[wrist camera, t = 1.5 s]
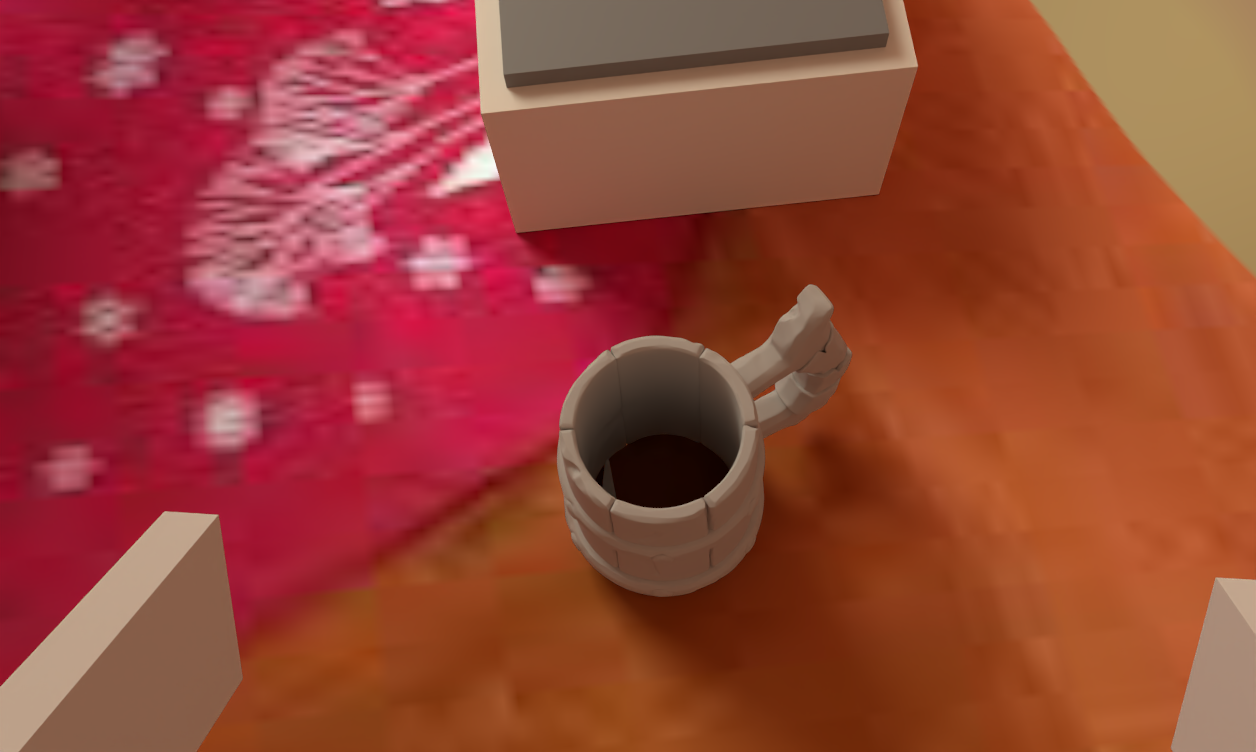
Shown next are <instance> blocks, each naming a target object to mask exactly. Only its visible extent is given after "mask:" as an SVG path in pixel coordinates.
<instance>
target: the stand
mask: <svg viewBox="0 0 1256 752" xmlns="http://www.w3.org/2000/svg"><path fill="white" fill-rule="evenodd" d="M475 9H476V28H477V47H478V66H479V85H480V104H481V115H482V119H483V122H484V126H485V129H486V132H487V136H488V139H489V143H490V146H491V149H492V153H493V156H494V160H495V163H496V166H497V170H498V173H499V176H500V180H501V183H502V187H503V190H504V193H505V197H506V200H507V204H508V207H509V210H510V214H511V217H512V221H513V224H514V227H515V231H516V233H520V232H530V231H539V230H548V229H558V228H567V227H576V226H586V225H595V224H605V223H614V222H623V221H633V220H642V219H652V218H661V217H670V216H680V215H689V214H698V213H708V212H717V211H727V210H736V209H745V208H755V207H764V206H774V205H783V204H792V203H802V202H811V201H821V200H830V199H839V198H849V197H858V196H867V195H877V194H879V192H880V189H881V186H882V183H883V179H884V176H885V173H886V170H887V166H888V163H889V160H890V157H891V153H892V150H893V147H894V143H895V140H896V137H897V134H898V130H899V127H900V124H901V121H902V117H903V114H904V111H905V108H906V104H907V101H908V98H909V95H910V91H911V88H912V85H913V82H914V78H915V75H916V72H917V68H918V64H917V60H916V55H915V51H914V46H913V42H912V38H911V33H910V29H909V24H908V20H907V16H906V11H905V7H904V2H903V0H475Z"/></svg>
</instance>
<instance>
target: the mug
mask: <svg viewBox="0 0 1256 752" xmlns="http://www.w3.org/2000/svg"><path fill="white" fill-rule="evenodd" d="M797 302H798V303H797V304H796V305H795V306H793V307H792V308H791V310H790V311H789V312H787V313H786V314H784V315H783V316H782V317H781V318H780V319H779V321H778V323H777V324H776V326H775V329H774V331H773V333H772V334H771V336H770V337H769V338H768V340H767V341H766V342H765V343H764V344H763V345H761V346H760V347H759V348H757V349H755V350H753V351H752V352H750V353H748V354H746V355H745V356H743V357H740V358H738V359H737V360H735V361H734V362H732V363H731V364H730V363H729V362H728V361H727V360H726V359H725V358H723V357H722V356H721V355H719V354H718V353H716V352H714V351H712V350H710V349H708V348H706V349H705V350H704V346H703V345H702V344H700V343H692V342H690V341H688V340H686V339H683V338H676V337H667V336H645V337H639V338H635V339H631V340H627V341H624V342H622V343H619V344H617V345H615V346H613V347H611V352H610V351H609V350H605V351H604V352H603V353H601V354H600V355H599V356H598V357H597V359H596V360H595V361H593V362H592V363H591V364H590V365H589V366H588V367H587V368H586V370H585V371H584V372H583V373H582V374H581V375H580V377H579V378H578V379H577V380H576V381H575V383H574V384H573V385H572V387H571V389H570V390H569V392H568V394H567V397H566V399H565V401H564V404H563V407H562V411H561V415H560V423H559V427H560V431H559V442H558V451H557V466H558V474H559V479H560V483H561V486H562V490H563V494H564V505H565V517H566V521H567V524H568V526H569V529H570V531H571V537H572V541H573V543H574V544H575V546H576V547H577V549H578V550H579V551H581V553H582V554H583V556H584V557H585V558H586V560H587V561H588V562H589V563H590V564H591V565H592V566H593V568H595V569H596V570H597V571H598V572H599V573H600V574H602V575H603V576H604V577H606V578H607V579H609V580H610V581H612V582H613V583H615V584H617V585H619V586H621V587H623V588H625V589H628V590H630V591H633V592H637V593H640V594H645V595H651V596H658V597H668V596H677V595H683V594H688V593H692V592H694V591H696V590H697V589H700V588H703V587H705V586H707V585H709V584H712V583H714V582H716V581H717V580H718V579H720V578H722V577H724V576H725V575H727V574H728V573H729V572H731V571H732V570H733V569H734V568H735V567H736V566H737V565H738V564H739V563H740V561H741V560H742V559H743V558H744V556H745V555H746V554H747V553H748V552H749V551H750V550H751V549H752V547H753V545H754V543H755V541H756V535H757V533H758V530H759V527H760V524H761V520H762V515H763V508H764V486H763V474H764V467H765V448H764V440H763V439H764V438H766V437H767V436H769V435H771V434H773V433H775V432H777V431H779V430H781V429H784V428H786V427H789V426H793V425H796V424H798V423H799V422H800V421H802V420H803V419H805V418H806V417H807V416H808V415H809V414H810V413H811V412H814V411H816V410H818V409H820V408H821V407H822V406H824V405H825V404H826V403H827V402H828V400H829V398H830V397H831V396H832V395H833V394H834V393H835V391H836V389H837V386H838V384H839V381H840V378H841V377H842V375H843V374H844V373H845V371H846V370H847V368H848V366H849V364H850V361H851V358H852V352H851V350H850V349H849V348H848V347H847V345H846V343H845V342H844V340H843V339H842V337H841V335H840V334H839V333H838V331H837V330H836V329H835V328H834V325H833V324H832V322H831V321H830V318H831V316H832V314H833V310H834V307H833V304H832V303H831V302H830V300H829V299H828V298H827V297H826V295H825V294H824V293H823V292H822V291H821V290H820V288H818V287H817V286H815V285H812V284H810V285H808V286H807V287H805V288H804V289H803V291H802V292H801V293H800V294H799V295H798V297H797ZM773 384H775V390H774V391H772V392H771V393H769V394H767V395H765V396H763V397H761V398H759V399H757V400H756V401H754V400H753V398H754V397H756V396H757V395H758V394H760V393H761V392H763V391H764V390H766V389H767V388H768V387H770V386H771V385H773ZM659 434H669V435H677V436H682V437H686V438H689V439H691V440H693V441H695V442H698V443H700V442H701V443H702V444H703V445H704V446H705V447H707V448H709V449H710V450H712V451H713V452H714V453H716V454H717V455H718V456H719V457H720V458H721V459H722V460H723V462H724V463H725V464H726V466H727V467H728V469H729V470H730V471H729V472H728V474H727V475H726V476H725V478H724V479H723V480H722V481H721V482H720V483H719V484H718V485H717V486H716V487H715V488H714V489H713V490H711V491H710V492H709V493H707V494H706V495H705V496H704V498H700V499H697V500H695V501H692V502H690V503H687V504H684V505H680V506H676V507H669V508H647V507H641V506H636V505H633V504H630V503H627V502H624V501H621V500H617V498H616V493H615V488H614V483H613V478H612V473H611V468H610V463H609V459H610V458H611V457H612V456H613V455H614V454H615V453H616V452H618V451H619V450H621V449H623V448H624V447H625V446H626V443H627V444H631V443H633V442H635V441H637V440H639V439H641V438H644V437H647V436H652V435H659ZM604 465H605V467H604V476H603V485H602V487H601V486H600V485H599V484H598V483H597V482H596V481H595V480H596V478H597V476H598V474H599V472H600V470H601V469H602V467H603V466H604Z"/></svg>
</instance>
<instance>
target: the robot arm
mask: <svg viewBox="0 0 1256 752" xmlns="http://www.w3.org/2000/svg"><path fill="white" fill-rule="evenodd" d="M242 679H243V676H242V669H241V662H240V656H239V649H238V642H237V635H236V629H235V622H234V615H233V608H232V602H231V595H230V588H229V581H228V575H227V568H226V561H225V554H224V548H223V541H222V534H221V527H220V521H219V515H214V514H198V513H183V512H167V511H164V513H163V514H162V515H161V516H160V517H159V518H158V519H157V520H156V521H155V522H154V523H153V524H152V525H151V526H150V527H149V529H148V530H147V531H146V532H145V533H144V534H143V535H142V536H141V537H140V538H139V539H138V540H137V541H136V542H135V544H134V545H133V546H132V547H131V548H130V549H129V550H128V551H127V552H126V553H125V554H124V555H123V556H122V557H121V558H120V560H119V561H118V562H117V563H116V564H115V565H114V566H113V567H112V568H111V569H110V570H109V571H108V572H107V573H106V575H105V576H104V577H103V578H102V579H101V580H100V581H99V582H98V583H97V584H96V585H95V586H94V587H93V588H92V589H91V591H90V592H89V593H88V594H87V595H86V596H85V597H84V598H83V599H82V600H81V601H80V602H79V603H78V604H77V606H76V607H75V608H74V609H73V610H72V611H71V612H70V613H69V614H68V615H67V616H66V617H65V618H64V619H63V620H62V622H61V623H60V624H59V625H58V626H57V627H56V628H55V629H54V630H53V631H52V632H51V633H50V634H49V635H48V636H47V638H46V639H45V640H44V641H43V642H42V643H41V644H40V645H39V646H38V647H37V648H36V649H35V650H34V651H33V653H32V654H31V655H30V656H29V657H28V658H27V659H26V660H25V661H24V662H23V663H22V664H21V665H20V666H19V667H18V669H17V670H16V671H15V672H14V673H13V674H12V675H11V676H10V677H9V678H8V679H7V680H6V681H5V682H4V684H3V685H2V686H1V687H0V752H197V750H198V748H199V747H200V745H201V744H202V742H203V741H204V739H205V737H206V736H207V734H208V733H209V731H210V730H211V728H212V726H213V725H214V723H215V722H216V720H217V719H218V717H219V715H220V714H221V712H222V711H223V709H224V708H225V706H226V704H227V703H228V701H229V700H230V698H231V697H232V695H233V693H234V692H235V690H236V689H237V687H238V686H239V684H240V682H241V681H242ZM1171 749H1172V751H1173V752H1256V580H1247V579H1231V578H1215V582H1214V586H1213V590H1212V594H1211V597H1210V601H1209V605H1208V609H1207V613H1206V616H1205V620H1204V624H1203V628H1202V632H1201V635H1200V639H1199V643H1198V647H1197V651H1196V654H1195V658H1194V662H1193V666H1192V670H1191V673H1190V677H1189V681H1188V685H1187V689H1186V692H1185V696H1184V700H1183V704H1182V708H1181V711H1180V715H1179V719H1178V723H1177V727H1176V730H1175V734H1174V738H1173V742H1172V745H1171Z"/></svg>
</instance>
